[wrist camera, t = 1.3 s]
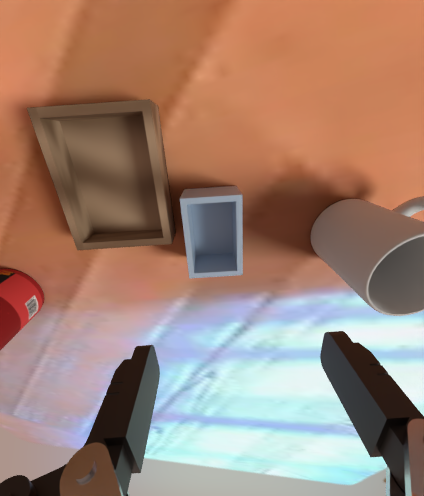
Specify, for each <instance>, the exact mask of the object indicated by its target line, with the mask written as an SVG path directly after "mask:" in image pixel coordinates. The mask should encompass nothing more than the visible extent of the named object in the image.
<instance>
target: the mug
mask: <svg viewBox="0 0 424 496" xmlns="http://www.w3.org/2000/svg"><path fill="white" fill-rule="evenodd" d="M422 210H424V196H423V197H417V198H414V199H411V200H409V201H407V202H405V203H403V204H401V205H400V206H398V207H396V208H395V209H393V210H392V211H391V210H389V209H386V208H383V207H381V206H378V205H375V204H373V203H370V202H368V201H365V200H361V199H345V200H341V201H339V202H336V203H334V204H332V205H331V206H329V207H328V208H326V209H325V210H324V211H323V212H322V213H321V214H320V215H319V216H318V218H317V219H316V221H315V222H314V225H313V227H312V230H311V244H312V247H313V249H314V251H315V252H316V254H317V255H318V256H319V257H320V258H321V259H322V260H323V261H324V262H326V263H327V264H328V265H329V266H330V267H331V268H332V269H333V270H334V271H335V272H336V273H337V274H338V275H339V276H340V277H341V278H342V279H343V280H344V281H345V282H346V283H347V284H348V285H349V286H350V287H351V288H352V289H353V290H354V291H355V292H356V293H357V294H358V295H359V296H360V297H361V298H362V299H363V300H364V301H365V302H366V303H367V304H368V305H369V306H371V307H372V308H373V309H374V310H376V311H378V312H380V313H383V314H386V315H393V316H403V315H410V314H414V313H418V312H421V311H423V310H424V222H422V221H419V220H416V219H413V218H411V217H410V216H412V215H413V214H415V213H417V212H419V211H422Z"/></svg>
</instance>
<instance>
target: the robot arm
mask: <svg viewBox="0 0 424 496" xmlns="http://www.w3.org/2000/svg"><path fill="white" fill-rule="evenodd" d="M320 357H321V363H322V367H323V369H324V371H325V373H326V375H327V377H328V379H329V380H330V382H331V384H332V386H333V388H334V390H335V392H336V393H337V395H338V397H339V399H340V401H341V403H342V405H343V407H344V408H345V410H346V412H347V414H348V416H349V418H350V420H351V421H352V423H353V425H354V427H355V429H356V431H357V433H358V434H359V436H360V438H361V440H362V442H363V444H364V446H365V448H366V449H367V451H368V453H369V455H370V457H380V456H382V457H383V459H384V460H385V462H386V464H387V469H386V496H424V416H423V415H422V414H421V413H420V412H419V410H418V409H417V408H416V407H415V406H414V404H413V403H412V402H411V401H410V399H409V398H408V397H407V396H406V394H405V393H404V392H403V391H402V390H401V388H400V387H399V386H398V385H397V383H396V382H395V381H394V380H393V379H392V377H391V376H390V375H388V372H387V371H386V370H385V369H384V368H383V366H381V365H380V363H379V361H378V360H377V359H376V358H375V356H374V355H373V354H372V353H371V352H370V351H369V350H368V349H366V348H365V347H364V346H362V345H361V344H359V343H353V342H352V341H351V339H350V338H349V337H348V335H347V334H346V333H345V332H343V331H338V332H326V333H325V334H324V338H323V344H322V350H321V356H320ZM159 375H160V371H159V364H158V360H157V356H156V352H155V348H154V346H153V345H146V346H137V347H136V348H135V350H134V353H133V356H132V358H131V359H127V360H124V361H123V362H122V363H121V364H120V366H119V367H118V368H117V369H116V370H115V373H114V375H113V378H112V380H111V384H110V385H109V388H108V390H107V393H106V396H105V398H104V400H103V403H102V405H101V407H100V410H99V412H98V415H97V417H96V420H95V422H94V425H93V427H92V430H91V432H90V435H89V437H88V439H87V441H86V443H85V445H84V446H83V448H81V449H80V450H79V451H77V452H76V453H75V454H74V455H73V457H72V458H71V459H70V460H69V462H68V463H67V464H65V465H64V466H62V467H61V468H59V469H57V470H54V471H52V472H50V473H48V474H46V475H43V476H41V477H39V478H37V479H35V480H32V481H29V479H28V478H27V477H25V476H22V475H17V476H13V477H11V478H8V479H7V480H5V481H3V482H2V483H0V496H129V493H128V487H129V482H130V478H131V473H141V469H142V464H143V459H144V454H145V449H146V444H147V439H148V434H149V429H150V424H151V419H152V414H153V409H154V404H155V399H156V394H157V388H158V383H159Z"/></svg>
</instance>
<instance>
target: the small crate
mask: <svg viewBox="0 0 424 496" xmlns="http://www.w3.org/2000/svg"><path fill="white" fill-rule="evenodd" d="M180 206H181V214H182V222H183V230H184V238H185V246H186V254H187V262H188V270H189V278H203V277H219V276H234V275H243V229H242V193H241V192H240V191H239V189H238V188H237V186H224V187H209V188H194V189H184V191H183V193H182V195H181V197H180Z"/></svg>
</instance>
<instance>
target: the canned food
mask: <svg viewBox="0 0 424 496" xmlns="http://www.w3.org/2000/svg"><path fill="white" fill-rule="evenodd" d="M43 303H44V294H43V291H42V289H41V287H40V286H39V285H38V284H37V282H36V281H35V280H33V279H32V278H31V277H29V276H28V275H26V274H24V273H22V272H20V271H17V270H13V269H0V350H1V349H2V348H3V347H4V346H5V345H6V344H7V343H8V342H9V341H10V340H11V339H12V338H13V337H14V336H15V335H16V334H17V333H18V332H19V331H20V330H21V329H22V328H23V327H24V326H25V325H26V324H27V323H28V322H29V321H30V320H31V319H32V318H33V317H34V316H35V315H36V314H37V313H38V312H39V311H40V309H41V307H42V305H43Z"/></svg>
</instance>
